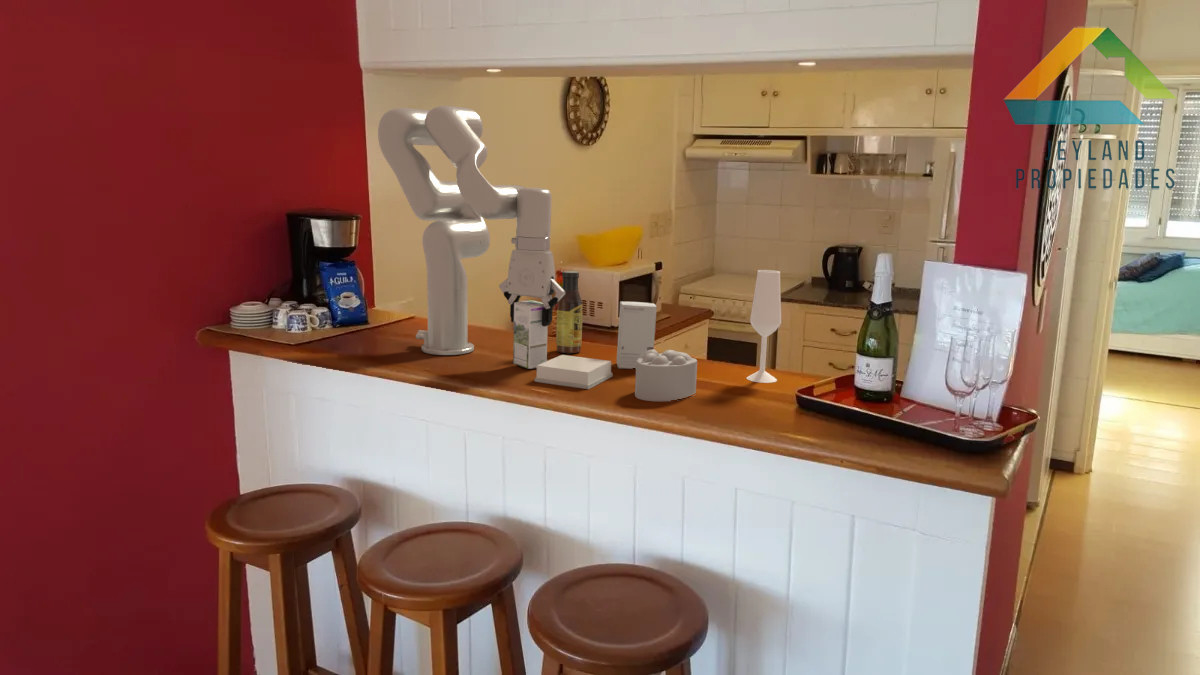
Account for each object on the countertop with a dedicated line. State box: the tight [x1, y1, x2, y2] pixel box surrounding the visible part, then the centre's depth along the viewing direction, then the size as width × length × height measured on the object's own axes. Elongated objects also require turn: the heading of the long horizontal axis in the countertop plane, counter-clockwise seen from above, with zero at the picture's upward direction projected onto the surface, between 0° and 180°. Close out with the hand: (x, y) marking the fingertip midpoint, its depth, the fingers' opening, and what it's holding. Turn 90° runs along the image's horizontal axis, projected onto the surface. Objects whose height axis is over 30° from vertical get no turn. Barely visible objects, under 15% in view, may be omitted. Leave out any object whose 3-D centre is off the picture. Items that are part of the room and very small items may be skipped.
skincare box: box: [616, 301, 657, 370], centre depth 199 cm, size 8×6×15 cm
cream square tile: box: [534, 354, 614, 390], centre depth 187 cm, size 13×13×4 cm
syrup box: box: [512, 299, 549, 370], centre depth 195 cm, size 6×6×14 cm
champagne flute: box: [746, 269, 782, 384], centre depth 189 cm, size 7×7×24 cm
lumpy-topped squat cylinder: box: [634, 348, 698, 402], centre depth 176 cm, size 10×13×9 cm
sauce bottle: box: [555, 270, 583, 355], centre depth 212 cm, size 7×6×20 cm
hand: (530, 322), depth 195 cm, fingers closed on syrup box, 7 cm apart
